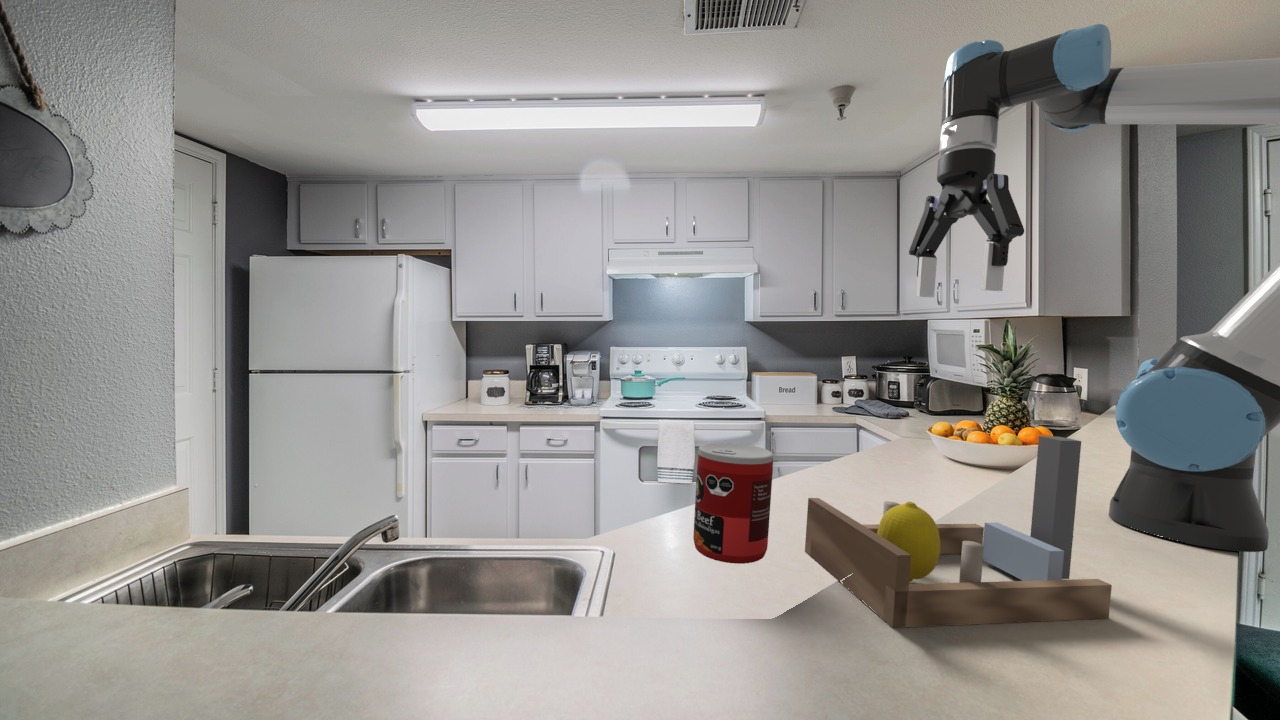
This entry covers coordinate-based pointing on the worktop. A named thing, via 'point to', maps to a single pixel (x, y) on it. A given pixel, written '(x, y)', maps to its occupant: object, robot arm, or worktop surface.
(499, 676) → the worktop surface
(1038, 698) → the worktop surface
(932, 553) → the lemon
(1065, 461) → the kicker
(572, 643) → the worktop surface
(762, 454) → the canned food
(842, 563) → the lane
